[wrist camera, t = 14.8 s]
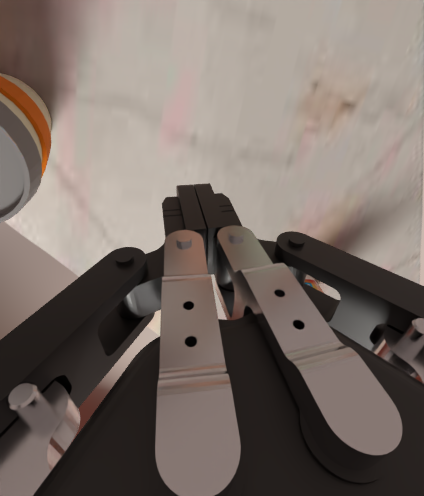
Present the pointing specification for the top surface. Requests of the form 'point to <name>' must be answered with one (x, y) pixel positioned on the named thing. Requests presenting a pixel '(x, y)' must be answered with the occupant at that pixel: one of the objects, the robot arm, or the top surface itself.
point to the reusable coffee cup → (21, 144)
